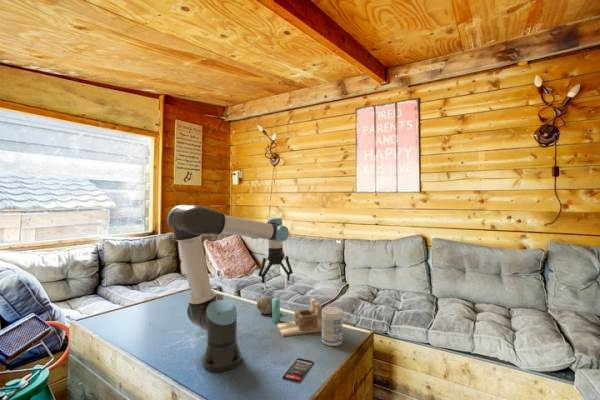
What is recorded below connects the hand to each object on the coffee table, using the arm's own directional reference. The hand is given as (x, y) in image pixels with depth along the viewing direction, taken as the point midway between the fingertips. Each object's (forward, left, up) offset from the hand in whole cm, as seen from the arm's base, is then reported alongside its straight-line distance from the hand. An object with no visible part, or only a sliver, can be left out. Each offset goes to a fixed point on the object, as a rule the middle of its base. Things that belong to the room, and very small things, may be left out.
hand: (275, 288), depth 161 cm
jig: (-11, -9, -18) cm, 23 cm away
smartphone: (-46, +1, -19) cm, 50 cm away
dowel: (0, 0, -18) cm, 18 cm away
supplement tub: (-29, -20, -18) cm, 40 cm away
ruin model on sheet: (+33, +31, -19) cm, 49 cm away
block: (-11, -13, -17) cm, 24 cm away
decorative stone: (+13, +3, -18) cm, 23 cm away
